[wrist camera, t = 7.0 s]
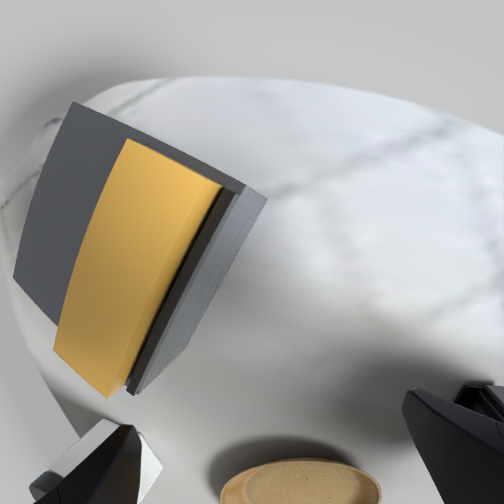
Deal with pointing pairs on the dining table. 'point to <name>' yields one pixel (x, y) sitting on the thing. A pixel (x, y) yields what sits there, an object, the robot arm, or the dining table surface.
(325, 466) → the plant saucer
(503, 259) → the dining table surface
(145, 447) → the jar
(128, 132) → the box
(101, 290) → the key
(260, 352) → the dining table surface
